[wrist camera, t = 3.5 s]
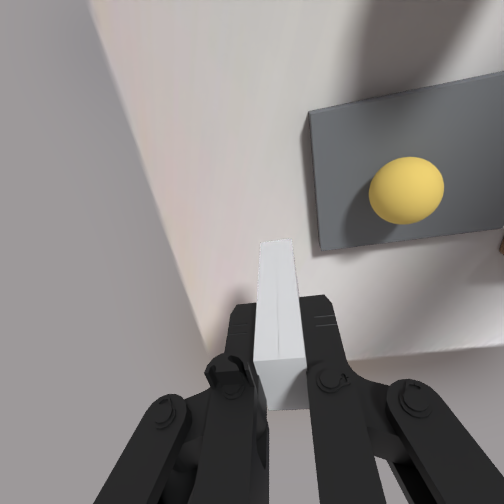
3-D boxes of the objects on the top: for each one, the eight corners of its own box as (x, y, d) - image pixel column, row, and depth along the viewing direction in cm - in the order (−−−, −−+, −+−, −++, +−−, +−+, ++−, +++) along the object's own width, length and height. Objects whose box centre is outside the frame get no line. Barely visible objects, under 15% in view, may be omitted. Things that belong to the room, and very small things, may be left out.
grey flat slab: (308, 111, 18) (310, 114, 17) (563, 58, 16) (583, 58, 15) (319, 243, 23) (321, 250, 22) (510, 217, 21) (522, 225, 20)
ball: (362, 155, 18) (381, 176, 15) (429, 143, 17) (466, 162, 14) (361, 211, 20) (378, 240, 17) (421, 202, 20) (451, 231, 16)
